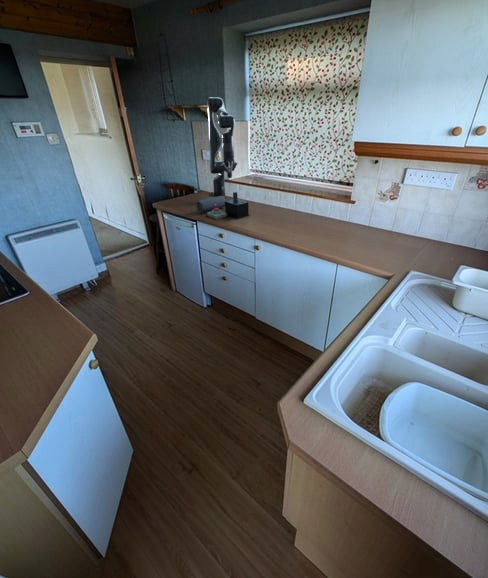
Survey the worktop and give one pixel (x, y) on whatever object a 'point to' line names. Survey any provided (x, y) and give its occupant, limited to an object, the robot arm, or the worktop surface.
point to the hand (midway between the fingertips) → (229, 177)
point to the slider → (235, 195)
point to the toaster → (236, 208)
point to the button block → (216, 214)
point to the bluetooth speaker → (211, 204)
